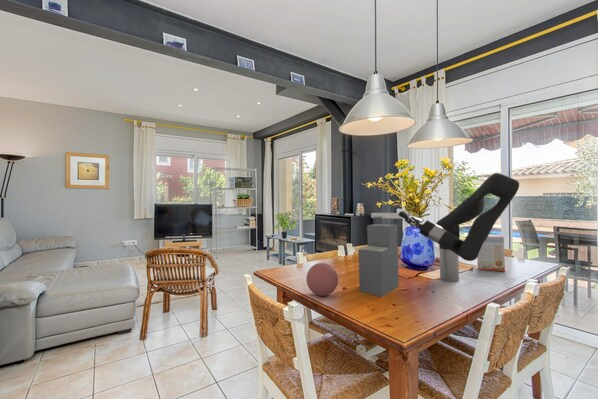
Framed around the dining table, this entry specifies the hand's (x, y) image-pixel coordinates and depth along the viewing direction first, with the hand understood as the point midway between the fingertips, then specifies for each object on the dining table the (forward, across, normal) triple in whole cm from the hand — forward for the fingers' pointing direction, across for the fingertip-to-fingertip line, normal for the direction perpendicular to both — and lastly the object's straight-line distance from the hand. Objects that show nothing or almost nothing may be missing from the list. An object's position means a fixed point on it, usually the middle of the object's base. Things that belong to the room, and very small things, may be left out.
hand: (400, 212), depth 141 cm
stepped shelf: (-11, +5, +38) cm, 40 cm away
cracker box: (-45, -69, +19) cm, 84 cm away
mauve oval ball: (+7, +28, +48) cm, 56 cm away
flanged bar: (+4, 0, +5) cm, 7 cm away
